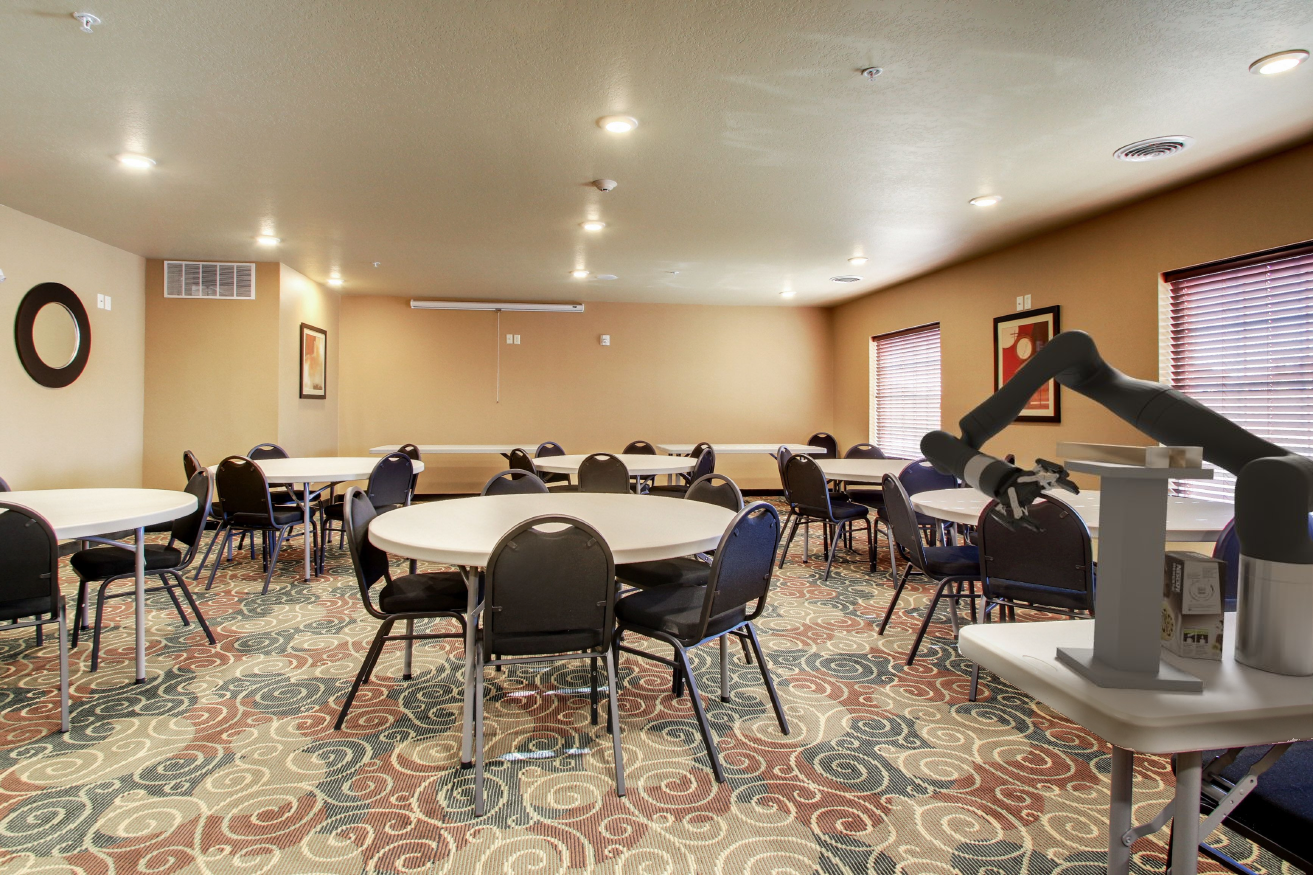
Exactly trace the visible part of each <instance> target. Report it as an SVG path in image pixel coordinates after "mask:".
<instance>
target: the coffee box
mask: <svg viewBox="0 0 1313 875" xmlns="http://www.w3.org/2000/svg"><path fill="white" fill-rule="evenodd" d="M1227 568H1228V561H1225V560H1222V559H1218V558H1216V557H1211V556H1210V555H1207V554H1203V553H1200V552H1196V551H1190V550H1165V563H1164V584H1163V606H1162V627H1161V646H1162V645H1163V647H1164V648H1166V649H1167V650H1169V651H1170V652H1172V653H1173V654H1175V655H1178V656H1179V657H1182V658H1192V659H1193V658H1194V659H1205V660H1215V661H1222V659H1223V650H1224V649H1223V647H1224V646H1223V645H1224V632H1225V629H1224V628H1225V613H1226V612H1225V609H1226V591H1227V590H1226V589H1227V572H1228V571H1227V570H1228V569H1227Z"/></svg>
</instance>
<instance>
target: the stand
mask: <svg viewBox="0 0 1313 875" xmlns="http://www.w3.org/2000/svg"><path fill="white" fill-rule="evenodd" d="M1063 467H1064V470H1067V472H1075V473H1082V474H1086V475H1093V476H1100V487H1099V488H1100V489H1099V511H1098V512H1099V513H1098V514H1099V517H1098V534H1097V535H1098V537H1097V554H1096V556H1097V558H1096V576H1095V577H1096V579H1095V580H1096V583H1095V584H1096V585H1095V602H1094V603H1095V606H1094V607H1095V609H1094V623H1093V624H1094V626H1093V627H1094V628H1093V648H1090V647H1089V648H1087V647H1086V648H1085V647H1064V646H1063V647H1059V646H1056V650H1055V651H1056V654H1055V655H1056V656H1055V657H1056V658H1058V659H1059V660H1061V661H1063V662H1064V663H1065V664H1066V665H1068V666H1070V667H1071V668H1072V669H1074V670H1075V671H1077V672H1078V673H1079V674H1081V675H1082V676H1084V677H1085V678H1087V679H1088V680H1090V681H1091V682H1092V683H1094V684H1095V685H1097V686H1098V687H1100V688H1111V689H1113V688H1114V689H1115V688H1116V689H1133V690H1134V689H1136V690H1138V689H1139V690H1153V691H1154V690H1156V691H1159V690H1160V691H1181V692H1202V693H1203V692H1204V680H1202V679H1200V678H1198V677H1197V676H1194V675H1192V674H1190V673H1189V672H1187V671H1185V670H1183V669H1181V668H1180V667H1178V666H1176V665H1174V664H1172V663H1170V662H1169V661H1167V660H1165V659H1163V658H1161V649H1162V648H1161V646H1162V645H1161V627H1162V606H1163V584H1164V563H1165V551H1166V539H1167V538H1166V537H1167V521H1168V520H1167V517H1168V498H1169V497H1168V495H1169V480H1170V479H1173V480H1174V479H1175V480H1214V474H1215V469H1214V468H1208V467H1207V468H1206V467H1202V468H1146V467H1145V466H1142V465H1132V464H1122V463H1112V462H1102V461H1092V460H1064V461H1063Z"/></svg>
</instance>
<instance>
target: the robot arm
mask: <svg viewBox="0 0 1313 875" xmlns="http://www.w3.org/2000/svg"><path fill="white" fill-rule="evenodd" d="M1052 379H1055V381H1056V382H1057V383H1059V384H1060V385H1062V386H1064V387H1065V388H1067V389H1069V390H1072V391H1073V392H1075V393H1078V394H1080V395H1082V396H1084V397H1086V398H1088V399H1091V400H1093V401H1094V402H1096V403H1097V404H1100V405H1102V406H1103V407H1104V408H1106V409H1107V410H1109V411H1110V412H1111V413H1112V414H1114V415H1116V416H1117V417H1118V418H1120V419H1122V420H1123V421H1125V422H1126V423H1128V424H1129V425H1130V426H1132V427H1134V428H1135V429H1136V430H1138V431H1139V432H1141V433H1143V434H1145V435H1146V437H1147V436H1148V437H1150V438H1151V439H1152V440H1154V441H1156V442H1157V443H1159V444H1161V445H1163V446H1164V447H1203V455H1202V462H1203V461H1205V462H1206V463H1210V464H1212V465H1215V466H1216V467H1219V468H1221V469H1222V470H1225V471H1227V472H1228V473H1230V474H1231V475H1233V476H1234V477H1236V479H1235V484H1234V493H1233V494H1234V496H1233V497H1234V498H1233V499H1234V500H1233V501H1234V504H1233V505H1234V506H1233V508H1234V509H1233V512H1234V513H1233V518H1234V519H1233V520H1234V522H1233V523H1234V524H1233V526H1234V527H1233V528H1234V533H1235V536H1236V539H1237V541H1238V544H1239V554H1238V555H1239V557H1238V558H1239V560H1238V580H1237V598H1236V611H1235V612H1236V615H1235V616H1236V617H1235V634H1234V635H1235V636H1234V651H1233V652H1234V653H1233V655H1234V656H1233V658H1234V659H1235V660H1236V661H1238V662H1240V663H1241V664H1244V665H1245V666H1249V667H1252V668H1255V669H1259V670H1263V671H1266V672H1271V673H1276V674H1281V675H1288V676H1301V677H1303V676H1311V675H1313V538H1312V537H1311V534H1310V530H1309V521H1310V520H1309V519H1310V518H1309V514H1310V513H1313V459H1310V458H1309V457H1306V456H1304V455H1300V454H1299V453H1297V452H1294V451H1291V450H1289V449H1287V448H1284V447H1282V446H1280V445H1278V444H1275V443H1274V442H1271V441H1268V440H1266V439H1264V438H1262V437H1260V436H1257V435H1256V434H1254V433H1252V432H1250V431H1248V430H1247V429H1244V428H1243V427H1242V426H1240V425H1239V424H1237V423H1235V422H1234V421H1232V420H1230V419H1228V418H1227V417H1226V416H1224V415H1223V414H1220V413H1218V412H1217V411H1215V410H1213V409H1212V408H1210V407H1207V406H1206V405H1204V404H1203V403H1201V402H1200V401H1197V400H1196V399H1194V398H1193V397H1191V396H1189V395H1187V394H1185V393H1183V392H1182V391H1181V390H1178V389H1176V388H1174V387H1172V386H1170V385H1168V384H1165V383H1162V382H1161V383H1160V382H1158V381H1152V380H1146V379H1138V378H1134V377H1132V376H1129V375H1127V374H1125V373H1123V372H1122V371H1120V370H1119V369H1117V368H1115V367H1114V366H1113V365H1111V364H1110V363H1108V362H1107V361H1106V360H1105V359H1103V357H1102V356H1101V354H1100V351H1099V350H1098V347H1097V344H1096V343H1095V340H1094V339H1093V337H1092V336H1091V334H1089V333H1088V332H1085V331H1084V330H1079V329H1070V330H1066V331H1062V332H1061V333H1058V334H1056V335H1055V336H1054V337H1052V338H1050V340H1048V341H1047V342H1046V343H1045V344H1044V345H1043V346H1042V347H1041V348H1040V349H1039V350H1037V352H1036V353H1035V354H1034V355H1033V356H1032V357H1031V358H1030V359H1029V360H1028V361H1027V362H1026V363H1025V364H1024V365H1023V366H1022V367H1021V368H1020V369H1019V370H1017V372H1015V374H1014V375H1013V376H1012V377H1011V378H1010V379H1009V380H1008V381H1007V382H1006V383H1005V384H1003V386H1001V387H1000V388H999V389H998V390H997V391H996V392H994V393H993V394H992V395H990V397H988V398H987V399H986V400H984V401H983V402H982V403H980V404H979V405H977V406H976V407H975V408H973V409H972V410H970V411H969V412H968V413H967V414H966V415H964V416H963V417H962V418H960V420H959V421H958V427H959V430H960V432H961V436H960V438H958V437H957V436H955V435H954V434H953V433H951V432H948V431H946V430H941V429H938V430H937V429H936V430H932V431H929V432H927V433H925V434H924V435H923V437H921V440H920V443H919V450H920V452H921V454H922V455H923V456H924V458H925V459H926V460H927V461H928V463H929V464H930V465H931V466H932V467H933V468H934V470H936V472H938V473H939V474H940V475H943V476H948V475H950V476H951V475H953V476H954V477H955V478H956V479H958V480H959V481H962V482H964V483H965V484H967V485H969V486H971V487H972V489H974V490H976V491H978V492H980V493H981V494H983V495H985V496H987V497H989V498H991V499H992V500H995V501H996V502H998V503H999V504H997V506H996V507H995V508H994V507H990V508H989V509H988V513H989V514H990V515H991V516H992V517H993V518H994V519H995V520H996V521H998V522H999V523H1000V524H1002V525H1003V526H1004V527H1006V528H1008V529H1009V530H1011V531H1012V532H1014V533H1015V532H1018V531H1019V530H1020V528H1021V527H1022V526H1024V527H1027V528H1028V529H1030V530H1032V531H1034V532H1039V531H1041V532H1044V531H1045V530H1046V527H1045V525H1044V524H1043V523H1041V522H1040V521H1038V520H1037V519H1035V518H1033V517H1031V516H1029V513H1028V508H1027V507H1028V506H1029V507H1030V506H1031V505H1032V504H1033V503H1034V501H1035V500H1036V499H1037V498H1039V497H1041V495H1042V493H1044V492H1051V491H1052V490H1053V489H1058V488H1060V489H1061V490H1064V491H1066V492H1069V493H1070V494H1074V495H1076V496H1079V494H1080V493H1081V491H1080V487H1079V486H1078V485H1077V484H1076V483H1075V482H1074V481H1073V480H1070V479H1068V478H1069V477H1070V473H1069V471H1068V470H1064V465H1062V464H1059V463H1056V462H1054V461H1053V462H1052V461H1050V460H1047V459H1044V458H1040V457H1038V458H1036V459H1035V460H1034V463H1035V464H1036V465H1035V466H1034V467H1033V468H1032V469H1029V470H1027V469H1024V468H1022V467H1019V466H1017V465H1014V464H1012V463H1010V462H1007V461H1006V460H1005V459H1003V458H999V457H996V456H994V455H989V454H986V453H984V452H982V451H981V450H980V449H982V447H983V446H984V444H985V443H987V442H988V441H990V439H992V438H994V437H995V436H996V435H998V434H999V433H1000V432H1001V431H1004V429H1006V428H1007V427H1008V426H1009V425H1011V424H1012V423H1013V422H1014V421H1015V420H1016V419H1017V418H1018V416H1019V415H1021V412H1022V411H1023V409H1024V408H1025V407H1026V406H1027V405H1028V403H1029V402H1030V401H1031V399H1032V398H1033V396H1034V395H1035V394H1036V393H1037V392H1038V391H1039V390H1040V389H1041V388H1042V387H1043V386H1044V385H1045V384H1046V383H1048V382H1049V381H1050V380H1052ZM1048 473H1049V474H1048ZM1006 510H1012V511H1013V516H1014V517H1013V518H1010V517H1009V516H1008V515H1007V512H1006Z"/></svg>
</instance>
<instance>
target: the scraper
mask: <svg viewBox="0 0 1313 875" xmlns="http://www.w3.org/2000/svg"><path fill="white" fill-rule="evenodd" d="M1202 455H1203V447H1167V446H1149V445H1148V446H1134V445H1133V446H1132V445H1117V444H1116V445H1115V444H1102V443H1100V444H1099V443H1089V442H1088V443H1087V442H1083V443H1082V442H1075V441H1074V442H1073V441H1072V442H1071V441H1061V442H1060V441H1058V442H1057V441H1056V443H1055V458H1064V459H1074V460H1081V461H1102V462H1112V463H1122V464H1132V465H1142V466H1145V467H1146V468H1203V460H1202Z"/></svg>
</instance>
